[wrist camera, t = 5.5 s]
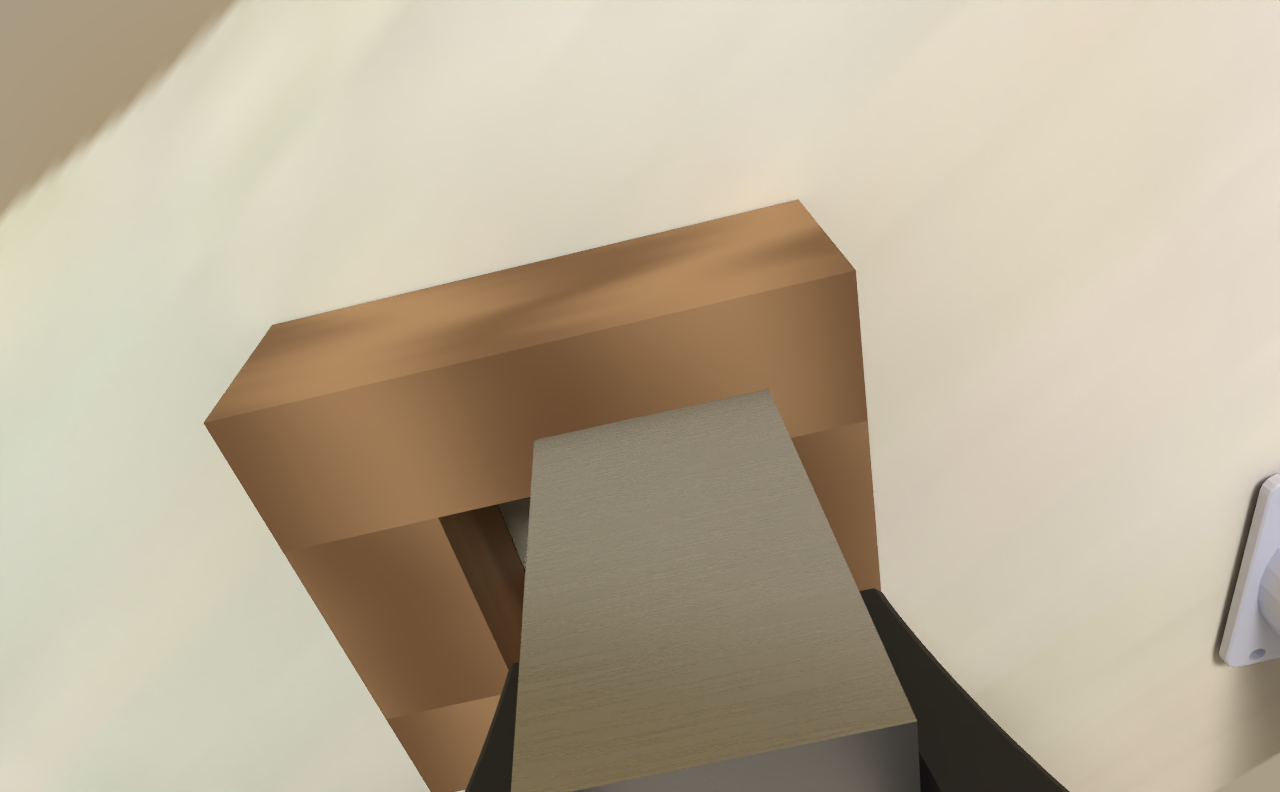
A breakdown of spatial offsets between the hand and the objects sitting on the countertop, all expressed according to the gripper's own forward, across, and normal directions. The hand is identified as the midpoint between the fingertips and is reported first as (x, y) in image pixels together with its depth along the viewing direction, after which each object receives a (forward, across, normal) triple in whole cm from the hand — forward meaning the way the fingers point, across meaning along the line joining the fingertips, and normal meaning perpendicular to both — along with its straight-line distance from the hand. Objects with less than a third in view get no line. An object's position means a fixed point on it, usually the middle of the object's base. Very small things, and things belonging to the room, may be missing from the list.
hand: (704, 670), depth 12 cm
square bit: (+3, 0, 0) cm, 3 cm away
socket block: (+9, +2, +3) cm, 9 cm away
